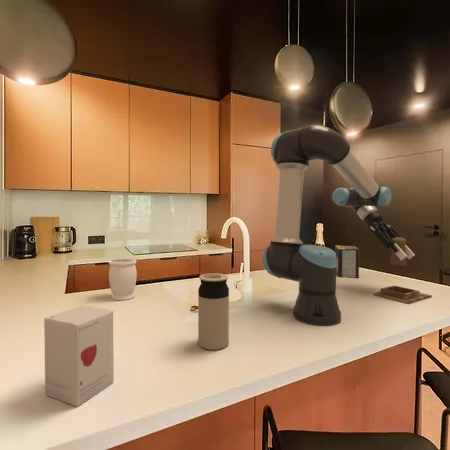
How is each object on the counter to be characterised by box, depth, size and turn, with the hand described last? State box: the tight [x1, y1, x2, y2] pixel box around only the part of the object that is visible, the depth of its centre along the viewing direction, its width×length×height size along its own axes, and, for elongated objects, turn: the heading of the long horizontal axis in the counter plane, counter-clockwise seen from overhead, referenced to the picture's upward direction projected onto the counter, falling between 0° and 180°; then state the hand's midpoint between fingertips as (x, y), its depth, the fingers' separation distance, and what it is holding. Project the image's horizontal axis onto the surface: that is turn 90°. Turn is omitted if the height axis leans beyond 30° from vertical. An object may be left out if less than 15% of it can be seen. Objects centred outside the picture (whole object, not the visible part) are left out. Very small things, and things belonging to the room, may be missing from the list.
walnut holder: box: [373, 285, 433, 305], centre depth 124 cm, size 18×14×3 cm
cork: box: [389, 237, 408, 267], centre depth 122 cm, size 6×6×11 cm
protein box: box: [334, 245, 360, 279], centre depth 165 cm, size 10×15×16 cm
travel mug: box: [197, 272, 230, 351], centre depth 78 cm, size 8×8×18 cm
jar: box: [108, 258, 138, 301], centre depth 120 cm, size 11×10×15 cm
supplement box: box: [43, 304, 115, 408], centre depth 58 cm, size 9×9×15 cm
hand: (407, 257), depth 119 cm, fingers closed on cork, 5 cm apart
